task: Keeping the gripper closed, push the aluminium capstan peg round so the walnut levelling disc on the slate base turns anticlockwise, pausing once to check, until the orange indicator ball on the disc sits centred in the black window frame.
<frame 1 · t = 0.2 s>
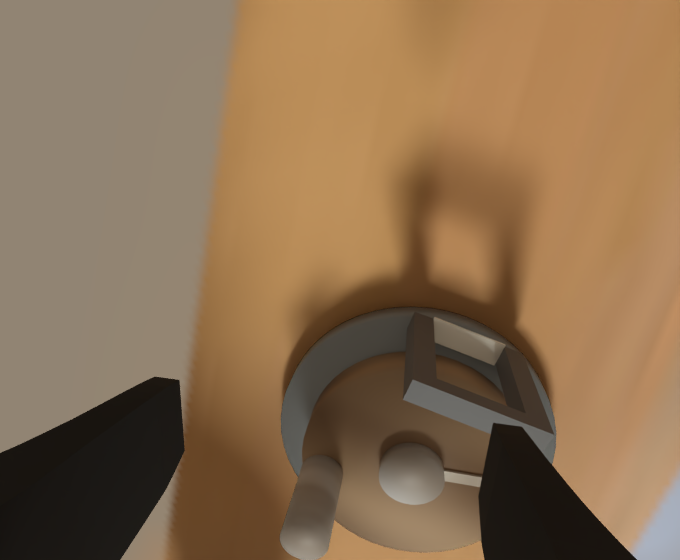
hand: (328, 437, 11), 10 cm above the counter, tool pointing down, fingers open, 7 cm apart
capstan disc: (411, 486, 19), point 4 cm above the counter, hinge at 0.0°
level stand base: (412, 425, 23), on the counter
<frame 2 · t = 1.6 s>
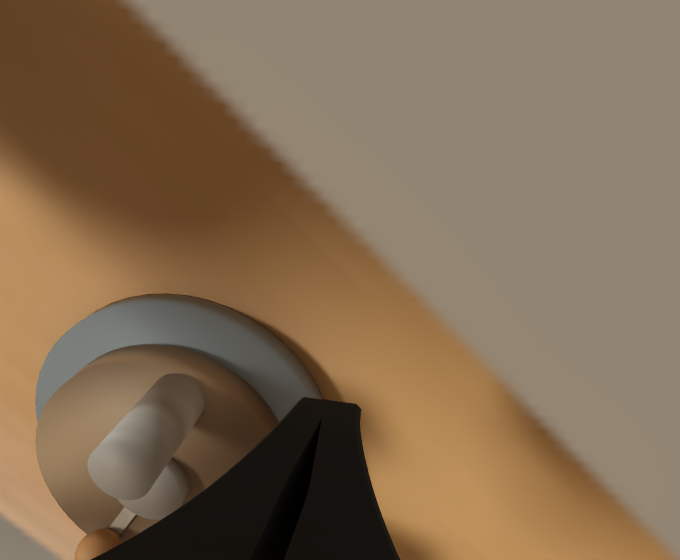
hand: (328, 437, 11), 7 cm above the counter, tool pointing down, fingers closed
capstan disc: (140, 499, 17), point 4 cm above the counter, hinge at 0.0°
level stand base: (188, 428, 20), on the counter
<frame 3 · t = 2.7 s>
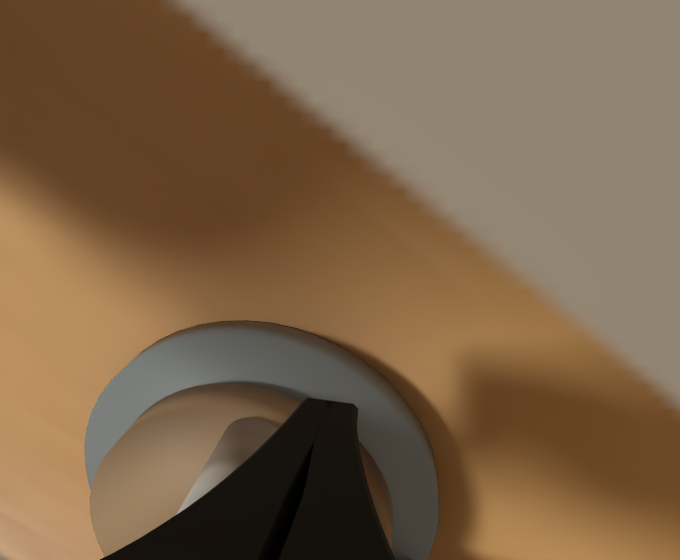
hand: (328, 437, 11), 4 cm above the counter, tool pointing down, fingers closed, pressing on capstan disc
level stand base: (262, 476, 17), on the counter
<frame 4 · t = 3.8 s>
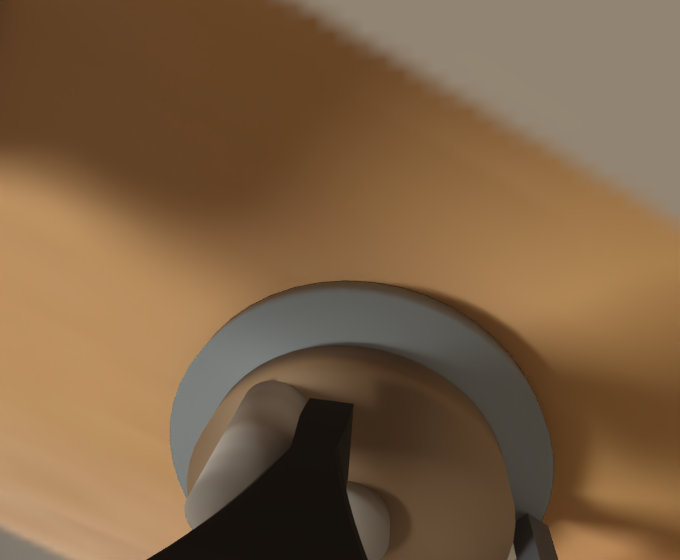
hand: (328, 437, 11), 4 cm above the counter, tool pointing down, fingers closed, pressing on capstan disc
capstan disc: (338, 547, 13), point 4 cm above the counter, hinge at 32.2°, touching gripper
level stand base: (355, 449, 16), on the counter
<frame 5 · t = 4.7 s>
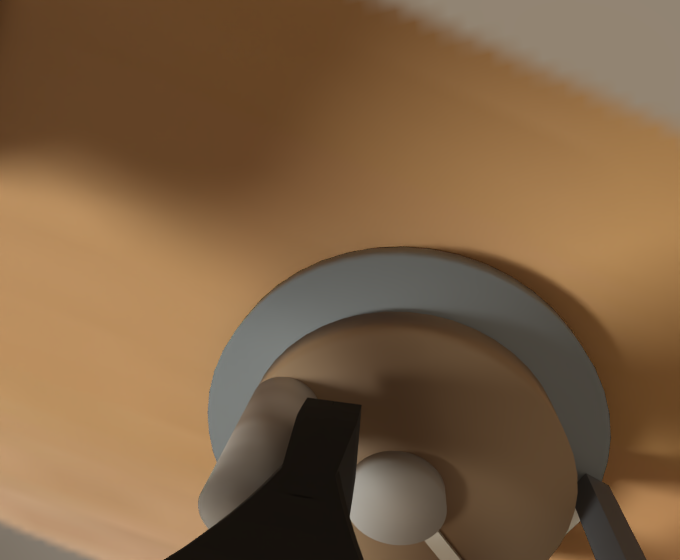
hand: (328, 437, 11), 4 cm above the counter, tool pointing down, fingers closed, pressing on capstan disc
capstan disc: (394, 519, 12), point 4 cm above the counter, hinge at 49.8°, touching gripper
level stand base: (398, 425, 16), on the counter
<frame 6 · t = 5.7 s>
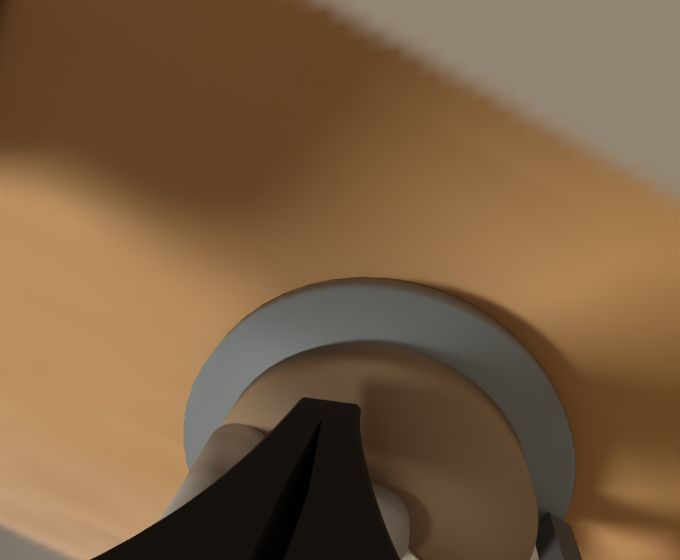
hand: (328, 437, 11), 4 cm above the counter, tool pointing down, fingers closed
capstan disc: (357, 548, 13), point 4 cm above the counter, hinge at 64.3°
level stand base: (371, 449, 16), on the counter
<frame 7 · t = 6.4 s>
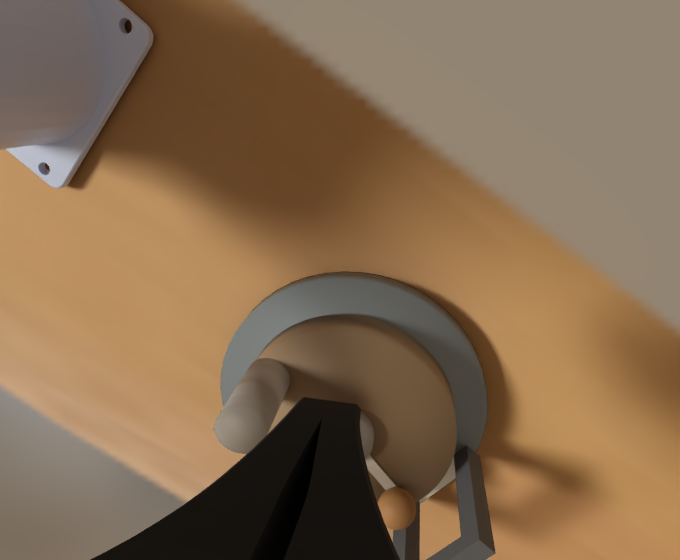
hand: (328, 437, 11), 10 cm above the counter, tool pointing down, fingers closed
capstan disc: (339, 446, 19), point 4 cm above the counter, hinge at 64.2°
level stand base: (351, 392, 23), on the counter
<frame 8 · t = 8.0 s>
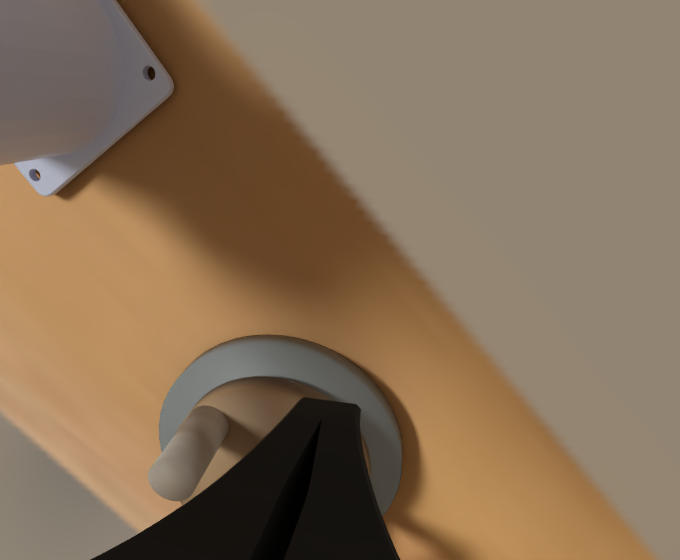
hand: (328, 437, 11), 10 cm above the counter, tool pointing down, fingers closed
capstan disc: (258, 500, 21), point 4 cm above the counter, hinge at 64.2°
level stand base: (281, 442, 25), on the counter
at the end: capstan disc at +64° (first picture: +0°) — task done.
